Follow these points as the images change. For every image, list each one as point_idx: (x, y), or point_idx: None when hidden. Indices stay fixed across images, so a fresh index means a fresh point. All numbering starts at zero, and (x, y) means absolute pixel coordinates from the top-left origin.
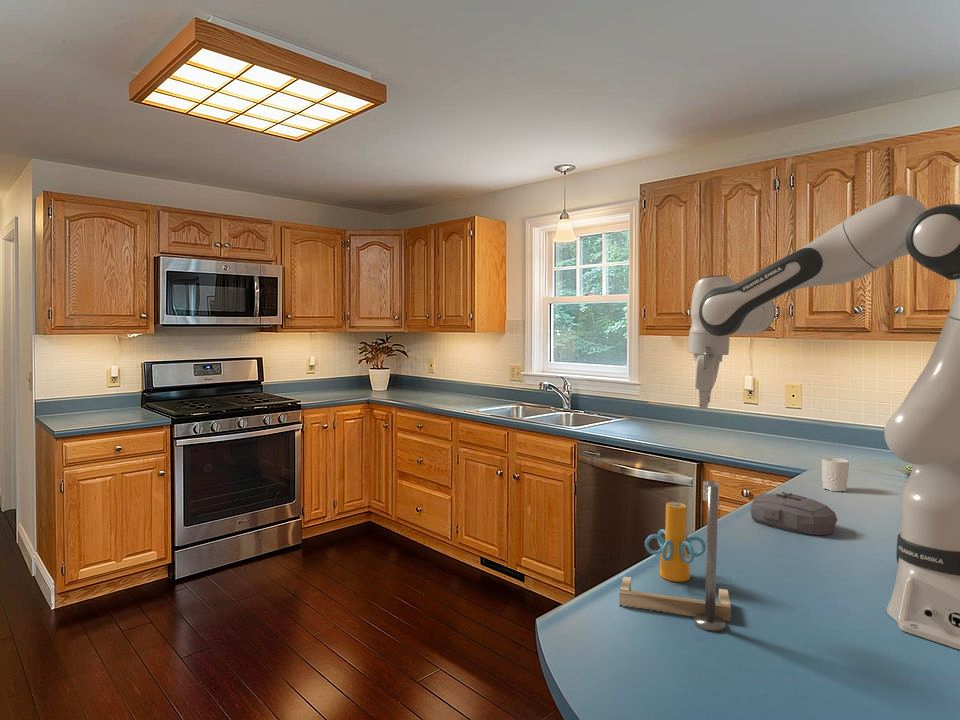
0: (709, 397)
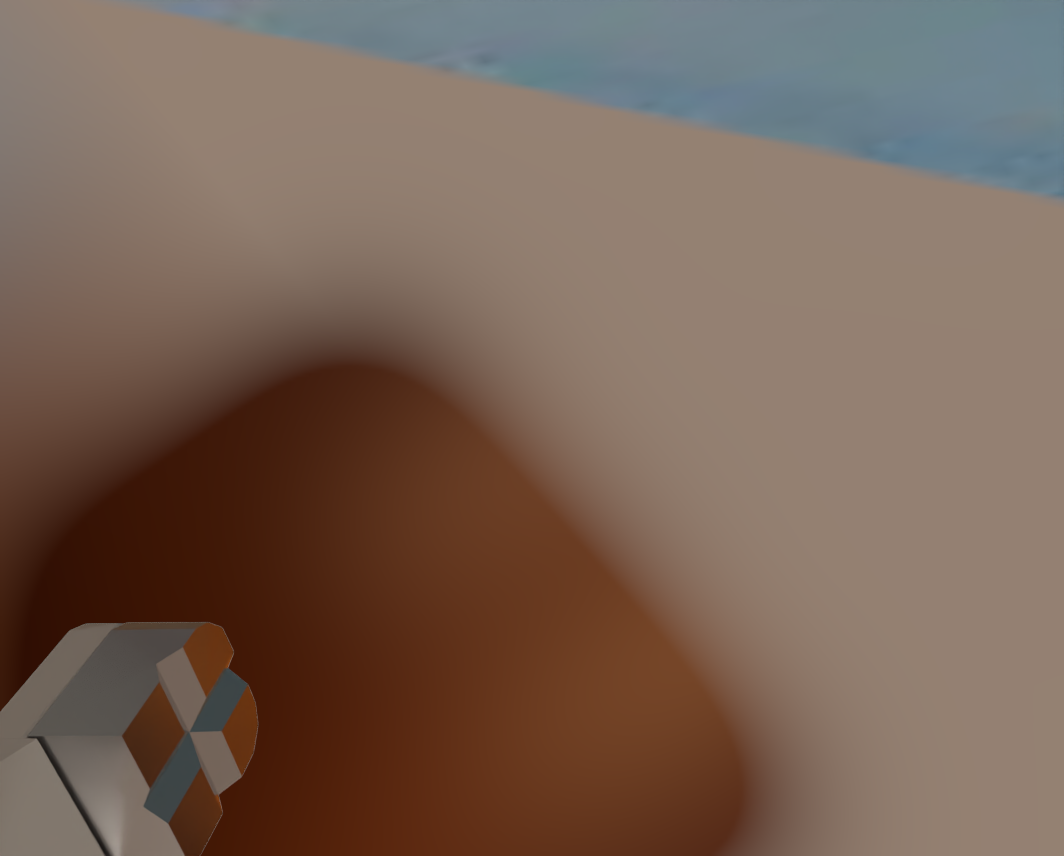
0: (142, 714)
